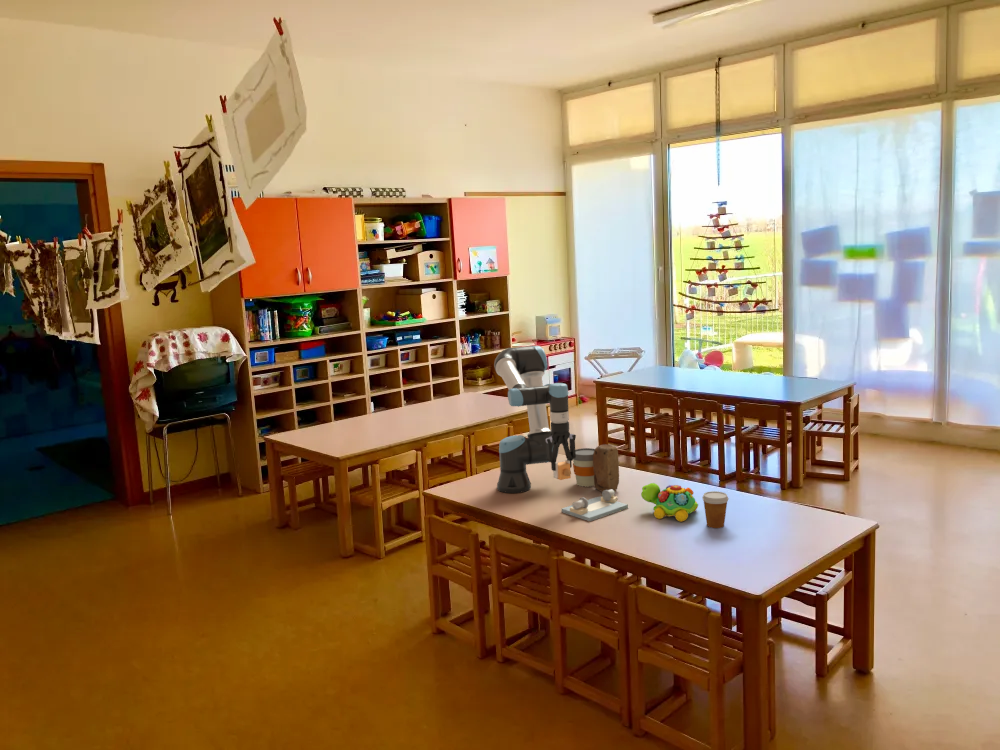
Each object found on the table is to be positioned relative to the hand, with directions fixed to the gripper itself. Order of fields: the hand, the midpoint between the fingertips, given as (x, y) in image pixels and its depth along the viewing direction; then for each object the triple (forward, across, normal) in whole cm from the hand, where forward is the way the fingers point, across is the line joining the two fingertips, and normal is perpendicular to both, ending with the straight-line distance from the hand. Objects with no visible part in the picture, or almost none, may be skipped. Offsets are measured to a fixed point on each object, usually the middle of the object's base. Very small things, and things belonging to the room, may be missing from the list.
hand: (561, 476), depth 327 cm
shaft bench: (+13, +9, -10) cm, 19 cm away
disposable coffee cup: (+14, +37, -50) cm, 64 cm away
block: (+13, +27, +9) cm, 32 cm away
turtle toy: (+14, +31, -30) cm, 45 cm away
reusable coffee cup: (+13, +25, +22) cm, 36 cm away
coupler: (0, 0, 0) cm, 1 cm away
